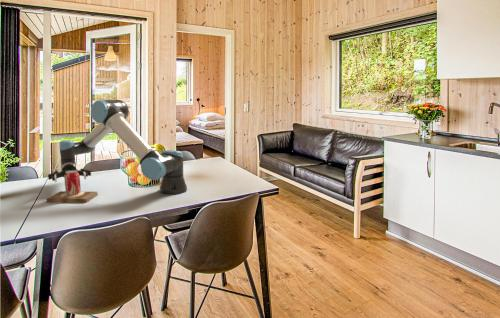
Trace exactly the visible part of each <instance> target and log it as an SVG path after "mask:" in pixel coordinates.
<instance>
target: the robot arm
mask: <svg viewBox="0 0 500 318" xmlns="http://www.w3.org/2000/svg"><path fill="white" fill-rule="evenodd" d="M129 113H130V110H129V106H128V105H127V103H126V102H124V101H123V100H121V99H99V100H96V101H95V102H93V104H92V105H91V107H90V114H91V118H92V119H93V121H95V123H98V124H97V125H96V126H95V127H94V128H93V129H92V130H91V131H90V132H89V133H88V134H87V135H85V137H84V138H83V139H81V141H78V142H74V140H72V139H65V140H60V141H59V144H58V145H59V148H58V149H59V153H60V155H59V156H60V168H61V171H59V170H55V171H53V172H51V173H49V174H47V176H48V177H47V179H48V180H52V181H54V183H57V181H58V179H60V178H64V175H65V172H66V171H70V170H77V171H78V173H79V176H81V177H83V178H84V180H87V177H89V176H92V171H91V170H88V169H84V168H80V169H79V170H78V169H77V167H76V164H77V163H76V156H79V155H83V154H89V153H92V152H94V151H95V149H96V146H97V144H99V143H100V142H101V141H102V140H103V139H104V138H105V137H106V136H108V134H109V133H110V132H112V131H113V132H114V134H116V135H117V136H118V137H119V139H120V140H121V141H123V143H124V144H125V145H126V146H127V147H128V149H129V150H130V151H131V152H132V153H133V154H134V155H135V157H136V158H138V160H139V162H138V163H139V165H140V169H141V173H142V175H143V176H144V177H146V178H147V179H148V180H151V181H153V180H160V179H161V182H160V186H159V192H160V193H161V194H165V195H177V194H183V193H185V192H187V190H188V186H187V183H186V181H185V178H184V155H183V152H182V151H180V150H166V149H165V150H161V152H160V151H159V150H158V149H157V148H152V147H151V145H150V144H148V142H147V141H146V140H145V139H144V138H143V137H142V135H140V133H138V131H137V130H135V128H134V127H133V126H132V125H131V124H130V123H129V122H128V121H127V118H128V116H129Z"/></svg>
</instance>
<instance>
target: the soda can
mask: <svg viewBox="0 0 500 318" xmlns="http://www.w3.org/2000/svg"><path fill="white" fill-rule="evenodd" d="M77 170H78V169H77ZM77 170H70V171H66V172H65V175H64V177H63V178H64V179H63V180H64V188H65V189H64V190H65V191H66V194H68V195H77V194H79V193H80V192H81V187H82V186H81V177H80V176H79V173H78V171H77Z"/></svg>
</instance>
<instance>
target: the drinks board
mask: <svg viewBox="0 0 500 318" xmlns="http://www.w3.org/2000/svg"><path fill="white" fill-rule="evenodd" d="M98 195H99V194H98V191H81V192H80V193H79V194H77V195H68V194H66V190H65V191H63V190H61V191H58V192H56V193H54V194H53V195H50V196H49V197H47V198H46V203H69V204H70V203H75V204H76V203H79V204H80V203H84V204H85V203H88V202H90V201H91V200H93V199H94V198H96V197H97V196H98Z"/></svg>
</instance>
